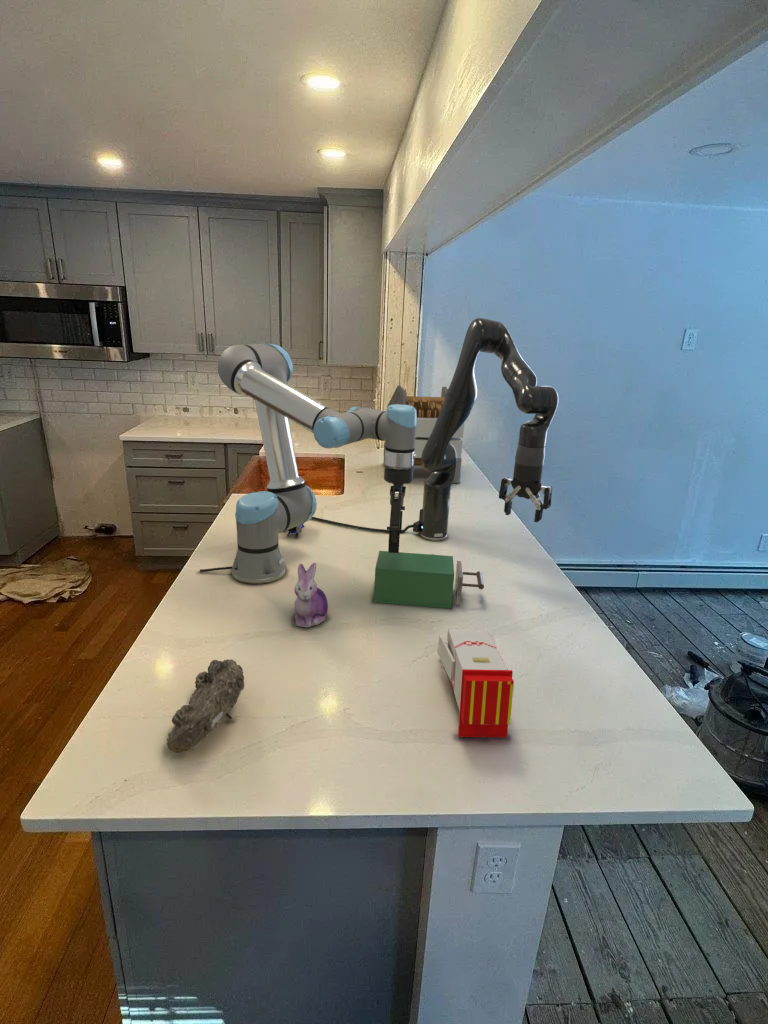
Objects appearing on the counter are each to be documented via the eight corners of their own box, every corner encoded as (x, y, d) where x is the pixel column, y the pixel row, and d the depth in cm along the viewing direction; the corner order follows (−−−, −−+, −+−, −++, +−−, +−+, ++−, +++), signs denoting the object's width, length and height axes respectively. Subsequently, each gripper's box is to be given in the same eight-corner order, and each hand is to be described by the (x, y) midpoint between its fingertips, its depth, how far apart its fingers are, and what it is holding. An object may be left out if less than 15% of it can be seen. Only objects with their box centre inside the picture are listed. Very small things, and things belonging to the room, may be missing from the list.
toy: (488, 613, 130) (523, 677, 101) (484, 667, 133) (517, 744, 104) (435, 612, 130) (455, 676, 101) (432, 666, 133) (451, 743, 103)
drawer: (479, 588, 161) (482, 562, 158) (482, 606, 151) (485, 579, 148) (390, 581, 163) (392, 555, 160) (388, 599, 153) (389, 571, 150)
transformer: (382, 463, 289) (386, 382, 275) (445, 464, 293) (451, 384, 279) (390, 482, 257) (394, 392, 243) (460, 483, 261) (468, 394, 247)
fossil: (192, 660, 117) (244, 628, 112) (224, 691, 120) (276, 661, 115) (142, 746, 98) (202, 712, 93) (182, 779, 101) (242, 748, 96)
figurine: (299, 632, 137) (299, 576, 132) (286, 613, 145) (285, 559, 140) (336, 624, 141) (336, 570, 136) (320, 605, 149) (321, 553, 144)
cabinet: (449, 588, 162) (452, 556, 159) (451, 608, 151) (454, 574, 148) (377, 582, 164) (379, 550, 160) (373, 602, 153) (375, 568, 149)
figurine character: (302, 543, 191) (306, 522, 205) (301, 523, 188) (306, 503, 202) (282, 542, 191) (288, 522, 205) (281, 522, 188) (287, 503, 201)
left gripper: (412, 480, 134) (407, 562, 141) (415, 455, 157) (410, 526, 164) (380, 478, 134) (377, 560, 141) (388, 453, 158) (384, 524, 165)
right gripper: (560, 463, 151) (551, 520, 157) (510, 454, 159) (504, 508, 165) (549, 469, 146) (541, 527, 151) (499, 459, 153) (492, 515, 159)
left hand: (395, 542), depth 153 cm, fingers open, 13 cm apart
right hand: (522, 518), depth 158 cm, fingers open, 8 cm apart
